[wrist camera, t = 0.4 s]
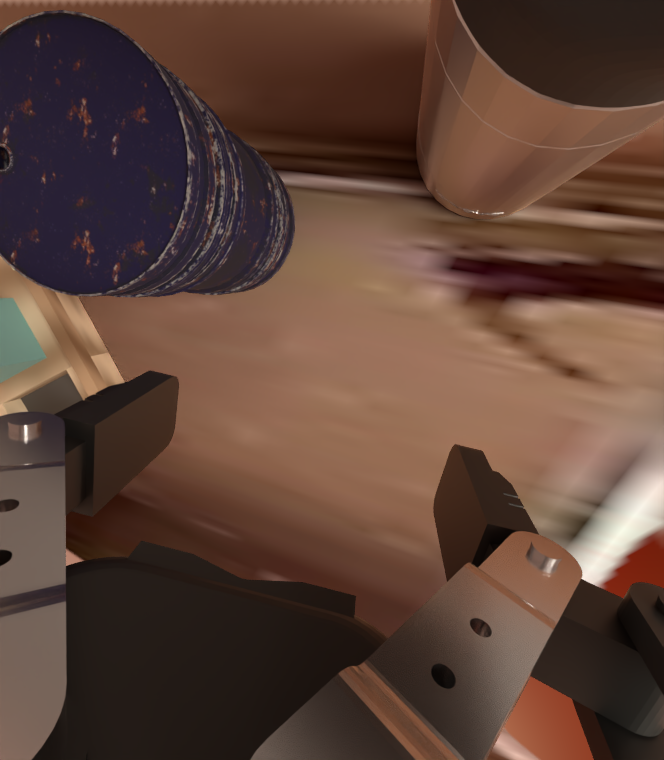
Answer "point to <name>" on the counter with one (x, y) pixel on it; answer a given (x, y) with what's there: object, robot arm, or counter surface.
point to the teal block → (16, 341)
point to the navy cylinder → (125, 172)
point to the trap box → (54, 350)
